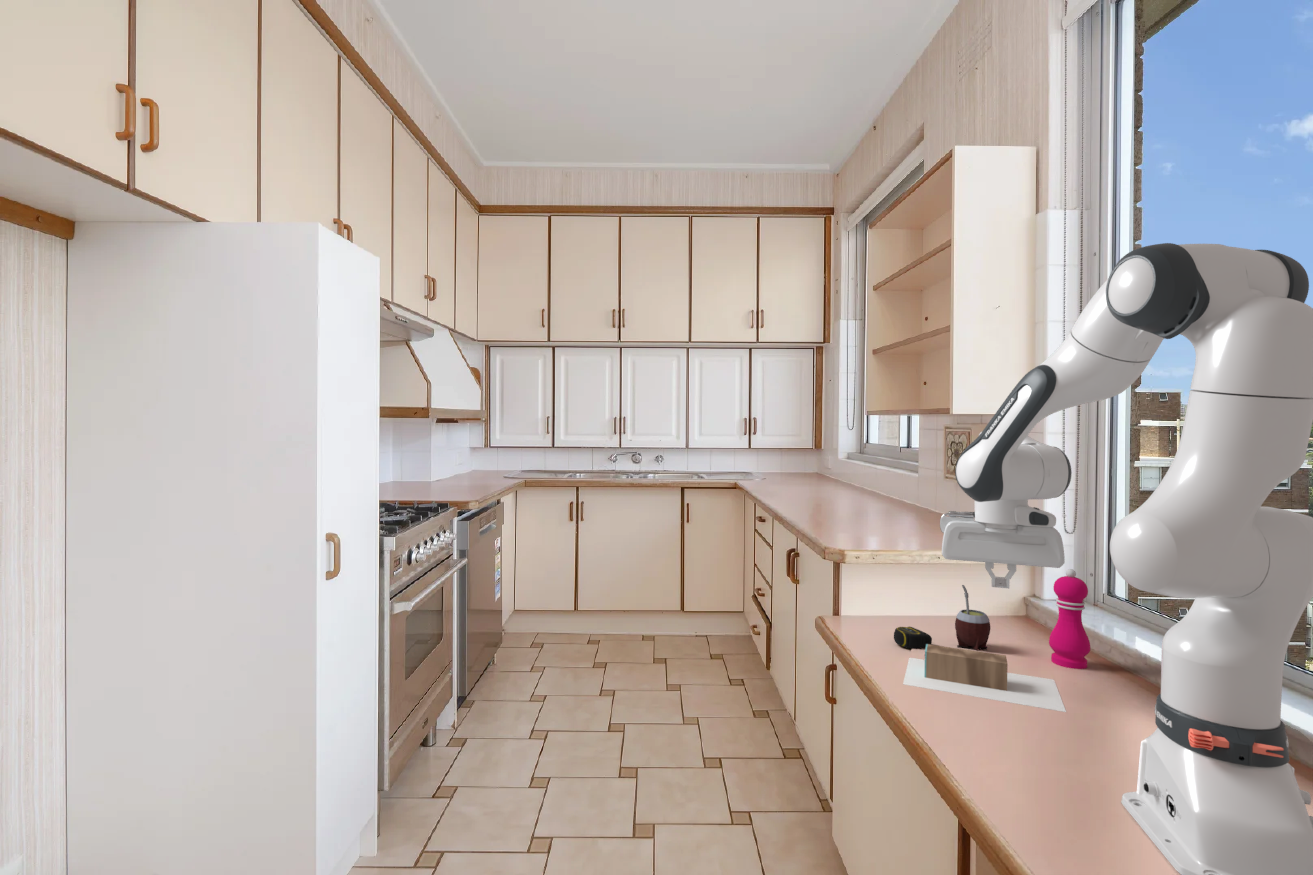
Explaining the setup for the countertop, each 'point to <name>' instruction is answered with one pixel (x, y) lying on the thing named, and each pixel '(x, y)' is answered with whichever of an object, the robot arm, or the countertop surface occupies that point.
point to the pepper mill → (1070, 623)
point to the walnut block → (966, 667)
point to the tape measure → (911, 637)
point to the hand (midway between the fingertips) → (1000, 587)
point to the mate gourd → (972, 628)
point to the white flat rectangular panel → (1018, 689)
